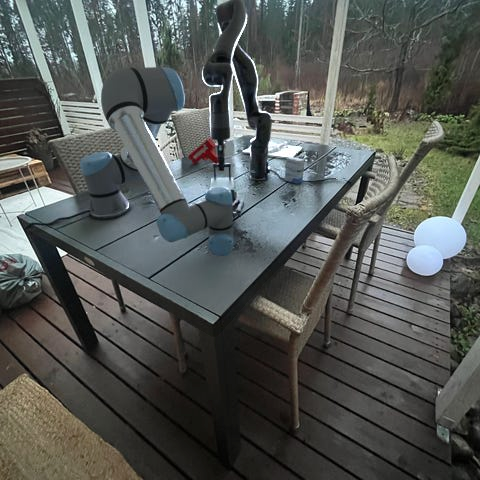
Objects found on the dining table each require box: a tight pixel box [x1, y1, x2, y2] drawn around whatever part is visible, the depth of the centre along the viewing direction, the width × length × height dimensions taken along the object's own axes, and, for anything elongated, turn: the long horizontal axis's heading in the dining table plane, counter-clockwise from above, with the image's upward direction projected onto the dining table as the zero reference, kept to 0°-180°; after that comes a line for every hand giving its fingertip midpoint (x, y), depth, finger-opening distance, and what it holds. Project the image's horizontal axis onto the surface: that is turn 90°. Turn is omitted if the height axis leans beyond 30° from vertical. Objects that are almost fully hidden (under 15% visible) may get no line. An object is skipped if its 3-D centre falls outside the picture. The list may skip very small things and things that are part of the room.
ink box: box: [284, 156, 306, 185], centre depth 140 cm, size 8×5×12 cm, turn 47°
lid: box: [209, 163, 235, 192], centre depth 109 cm, size 14×9×8 cm
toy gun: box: [188, 138, 218, 164], centre depth 168 cm, size 18×4×15 cm
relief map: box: [242, 138, 304, 160], centre depth 192 cm, size 27×35×5 cm
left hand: (222, 195), depth 111 cm, fingers closed on chest, 9 cm apart
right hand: (221, 167), depth 111 cm, fingers open, 8 cm apart
